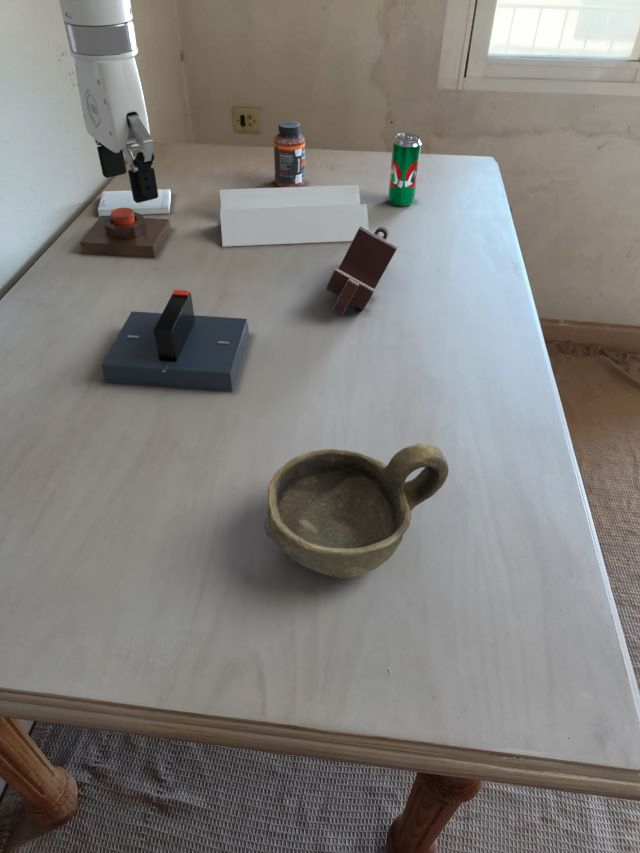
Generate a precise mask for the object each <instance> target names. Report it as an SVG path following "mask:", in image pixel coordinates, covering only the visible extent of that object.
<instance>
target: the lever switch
mask: <svg viewBox="0 0 640 853" xmlns="http://www.w3.org/2000/svg"><path fill="white" fill-rule="evenodd" d="M162 313H163V312H148V311H147V312H146V311H131V312H130V313H129V315H128V317H127V318H126V320H125V322H124V324H123V325H122V328H121V329H120V331H119V332H118V334H117V336H116V338H115V340H114V342H113V344H112V345H111V347H110V349H109V350H108V352H107V354H106V355H105V357H104V359H103V361H102V363H101V364H100V365H101V368H102V373H103V377H104V379H105V383H106V384H111V385H112V384H113V385H128V386H143V387H154V388H155V387H156V388H170V389H171V388H172V389H183V390H184V389H185V390H198V391H210V392H211V391H213V392H224V393H225V392H226V393H227V392H228V393H233V392H234V388H235V384H236V381H237V378H238V375H239V372H240V369H241V365H242V361H243V358H244V356H245V352H246V348H247V344H248V342H249V338H250V332H249V331H250V330H249V319H248V318H242V317H241V318H240V317H225V316H212V315H211V316H210V315H196V314H194V318H195V322H194V324H193V327H192V329H191V331H190V333H189V335H188V338H187V340H186V342H185V344H184V347H183V349H182V351H181V353H180V355H179V358H178V360H177V362H174V361H161V360H159V356H158V351H157V346H156V341H155V335H154V328H155V326H156V324H157V322H158V320H159V318H160V317H161V315H162Z"/></svg>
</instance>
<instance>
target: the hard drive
mask: <svg viewBox="0 0 640 853" xmlns="http://www.w3.org/2000/svg"><path fill="white" fill-rule="evenodd" d="M157 190H158V197H157V198H156V199H152V200H148V201H144V202H140V203H136V202H135V201H134V200H133V195H132V190H109V191H108V190H105V191H102V193H101V196H100V199H99V203H98V207H97V213H98V217H99V218H100V216H101V215H102V216H109V215H111V212H112V211H113V210H115V209H117V208H130V209H132V210H133V211H134V212H136V213H139V214H142V215H162V214H163V215H165V214H170V212H171V211H170V210H171V203H172V202H171V200H172V194H171V193H172V192H171V189H170V188H169V189H167V188H166V189H157Z"/></svg>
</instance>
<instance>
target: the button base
mask: <svg viewBox="0 0 640 853" xmlns="http://www.w3.org/2000/svg"><path fill="white" fill-rule="evenodd" d="M134 216H135V222H134V223H132V224H130V225H125V226H117V225H114V224H113V221H112V216H111V215H109V216H102V215H101V216H100V217H99V218H98V219H97V220H96V221H95V222H94V224H93V225H92V226H91V228H90V229H89V230H88V231H87V233H86V234H85V235H84V236H83V237H82V239H81V240H80V241H79V244H80V247H81V252H82V254H83V255H89V256H107V257H125V258H142V259H156V257H157V255H158V254H159V252H160V251H161V249H162V247H163V245H164V243H165V242H166V240H167V239H168V237H169V235H170V233H171V232H172V229H171V221H170V219H169V218H155V217H153V218H152V217H144V216H143V215H142V214H139V213H136V212H134Z"/></svg>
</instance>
